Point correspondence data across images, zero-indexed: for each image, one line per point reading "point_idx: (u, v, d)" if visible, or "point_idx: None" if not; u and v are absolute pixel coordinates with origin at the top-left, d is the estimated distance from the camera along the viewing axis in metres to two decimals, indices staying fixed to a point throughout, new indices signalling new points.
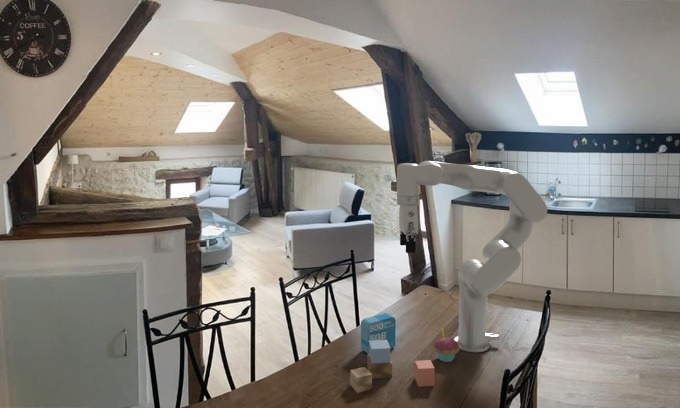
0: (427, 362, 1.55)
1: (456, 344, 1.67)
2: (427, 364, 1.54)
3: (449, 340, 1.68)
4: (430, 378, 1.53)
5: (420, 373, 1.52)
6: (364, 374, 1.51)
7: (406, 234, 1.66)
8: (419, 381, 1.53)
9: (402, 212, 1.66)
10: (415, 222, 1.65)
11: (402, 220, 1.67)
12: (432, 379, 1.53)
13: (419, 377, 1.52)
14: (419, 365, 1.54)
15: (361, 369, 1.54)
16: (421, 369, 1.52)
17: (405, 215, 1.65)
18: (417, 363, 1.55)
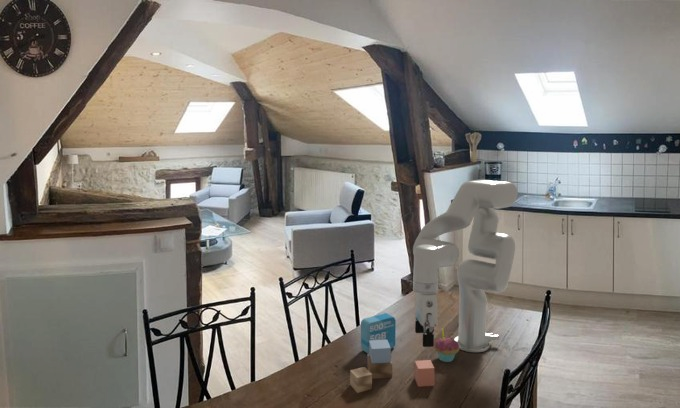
0: (427, 362, 1.55)
1: (456, 344, 1.67)
2: (427, 364, 1.54)
3: (449, 340, 1.68)
4: (429, 378, 1.53)
5: (420, 373, 1.52)
6: (364, 374, 1.51)
7: (423, 326, 1.47)
8: (419, 381, 1.53)
9: (419, 300, 1.48)
10: (434, 313, 1.46)
11: (419, 309, 1.48)
12: (432, 379, 1.53)
13: (419, 377, 1.52)
14: (419, 365, 1.54)
15: (361, 369, 1.54)
16: (421, 369, 1.52)
17: (423, 305, 1.46)
18: (417, 363, 1.55)
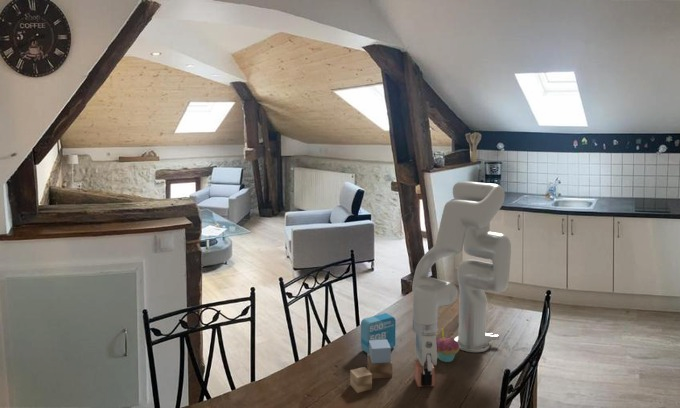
0: None
1: (456, 344, 1.67)
2: None
3: (449, 340, 1.68)
4: None
5: (420, 373, 1.52)
6: (364, 374, 1.51)
7: (422, 366, 1.51)
8: (419, 381, 1.53)
9: (419, 341, 1.50)
10: (433, 353, 1.49)
11: (419, 349, 1.51)
12: (432, 379, 1.53)
13: (419, 377, 1.52)
14: (419, 365, 1.54)
15: (361, 369, 1.54)
16: (421, 369, 1.52)
17: (422, 346, 1.48)
18: (417, 363, 1.55)
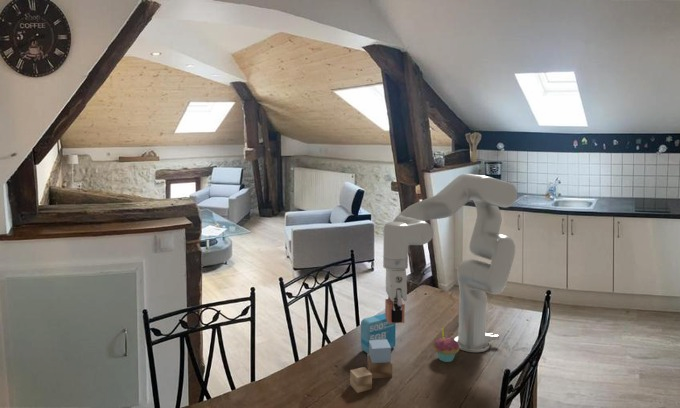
0: None
1: (456, 344, 1.67)
2: None
3: (449, 340, 1.68)
4: None
5: (390, 310, 1.52)
6: (364, 374, 1.51)
7: (392, 302, 1.51)
8: (389, 318, 1.53)
9: (389, 276, 1.50)
10: (403, 288, 1.49)
11: (389, 285, 1.51)
12: (402, 316, 1.53)
13: (389, 314, 1.52)
14: (389, 302, 1.54)
15: (361, 369, 1.54)
16: (391, 305, 1.52)
17: (392, 281, 1.49)
18: (387, 301, 1.55)
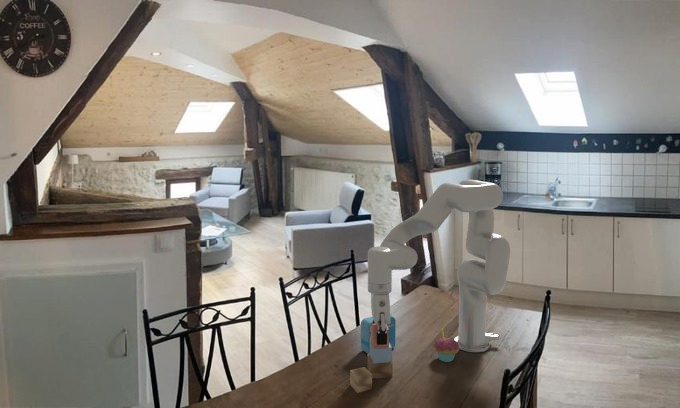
0: None
1: (456, 344, 1.67)
2: None
3: (449, 340, 1.68)
4: None
5: (375, 335, 1.56)
6: (364, 374, 1.51)
7: (377, 325, 1.54)
8: (374, 342, 1.57)
9: (373, 300, 1.54)
10: (387, 312, 1.53)
11: (373, 309, 1.55)
12: (387, 340, 1.57)
13: (374, 338, 1.57)
14: (374, 327, 1.58)
15: (361, 369, 1.54)
16: (376, 330, 1.56)
17: (376, 305, 1.52)
18: (373, 325, 1.59)
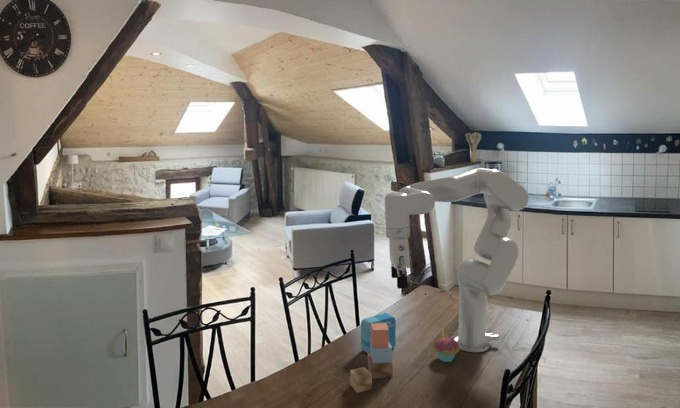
0: (383, 325, 1.59)
1: (456, 344, 1.67)
2: (382, 326, 1.59)
3: (449, 340, 1.68)
4: (384, 340, 1.57)
5: (374, 335, 1.56)
6: (364, 374, 1.51)
7: (397, 269, 1.55)
8: (374, 342, 1.57)
9: (392, 245, 1.56)
10: (406, 256, 1.54)
11: (392, 254, 1.56)
12: (386, 340, 1.57)
13: (374, 338, 1.57)
14: (374, 327, 1.58)
15: (361, 369, 1.54)
16: (376, 330, 1.56)
17: (395, 249, 1.54)
18: (372, 325, 1.59)
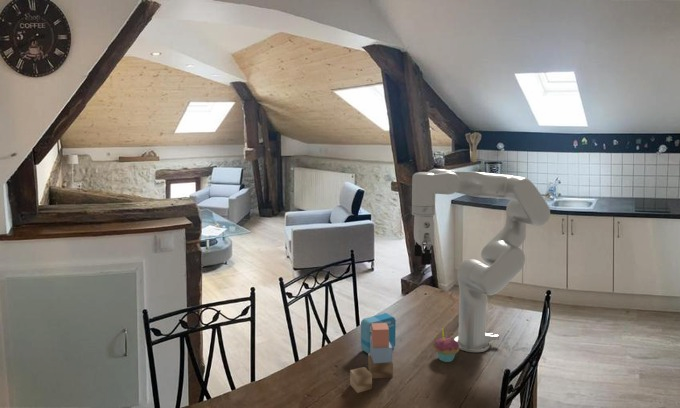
0: (383, 325, 1.60)
1: (456, 344, 1.67)
2: (382, 326, 1.59)
3: (449, 340, 1.68)
4: (384, 339, 1.57)
5: (375, 335, 1.57)
6: (364, 374, 1.51)
7: (422, 245, 1.61)
8: (374, 342, 1.57)
9: (417, 223, 1.61)
10: (431, 233, 1.60)
11: (417, 231, 1.62)
12: (387, 340, 1.57)
13: (374, 338, 1.57)
14: (374, 327, 1.58)
15: (361, 369, 1.54)
16: (376, 330, 1.56)
17: (421, 226, 1.59)
18: (373, 325, 1.59)
